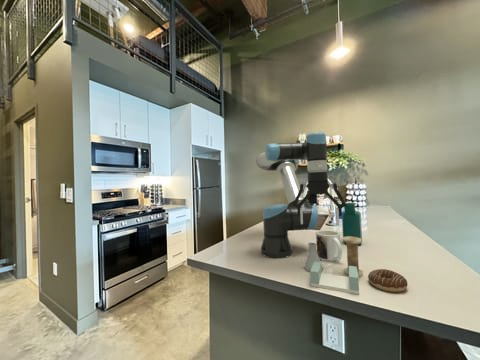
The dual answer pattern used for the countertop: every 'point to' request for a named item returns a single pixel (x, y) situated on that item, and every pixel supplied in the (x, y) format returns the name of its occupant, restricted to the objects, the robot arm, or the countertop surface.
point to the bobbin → (352, 253)
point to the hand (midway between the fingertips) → (319, 224)
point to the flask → (312, 257)
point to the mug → (328, 245)
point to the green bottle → (351, 222)
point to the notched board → (335, 280)
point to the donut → (387, 280)
